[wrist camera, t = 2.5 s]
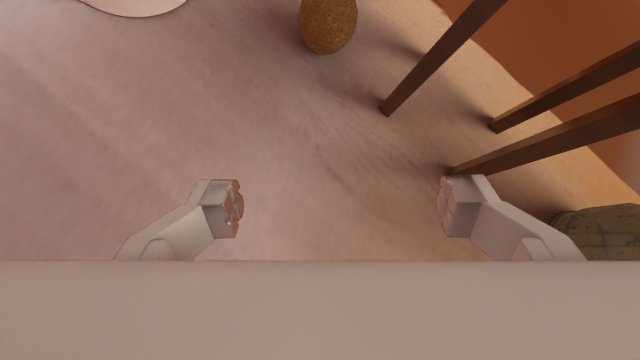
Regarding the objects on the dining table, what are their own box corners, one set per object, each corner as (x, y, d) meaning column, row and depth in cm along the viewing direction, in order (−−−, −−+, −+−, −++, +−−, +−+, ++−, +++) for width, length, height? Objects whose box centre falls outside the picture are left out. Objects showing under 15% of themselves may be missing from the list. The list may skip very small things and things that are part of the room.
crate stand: (456, 185, 36) (1110, -16, 9) (378, 108, 36) (775, -341, 9) (503, 126, 40) (1087, -159, 12) (430, 55, 40) (844, -395, 12)
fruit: (346, 69, 37) (370, 22, 29) (294, 65, 35) (305, 15, 28) (343, 23, 38) (365, -34, 30) (292, 18, 37) (302, -43, 29)
